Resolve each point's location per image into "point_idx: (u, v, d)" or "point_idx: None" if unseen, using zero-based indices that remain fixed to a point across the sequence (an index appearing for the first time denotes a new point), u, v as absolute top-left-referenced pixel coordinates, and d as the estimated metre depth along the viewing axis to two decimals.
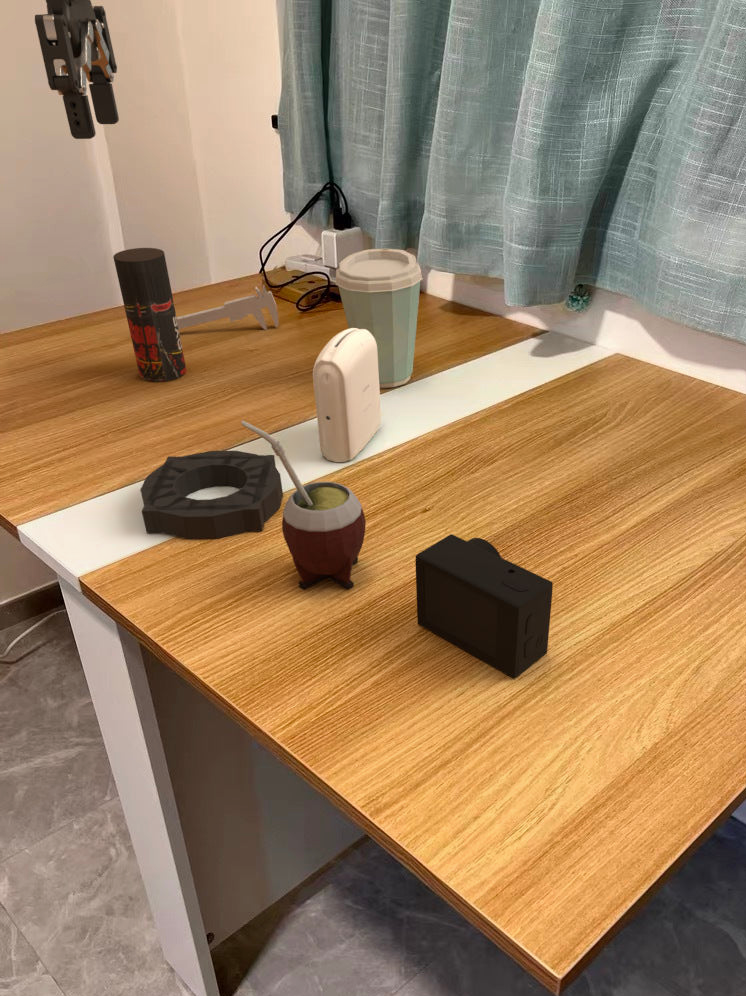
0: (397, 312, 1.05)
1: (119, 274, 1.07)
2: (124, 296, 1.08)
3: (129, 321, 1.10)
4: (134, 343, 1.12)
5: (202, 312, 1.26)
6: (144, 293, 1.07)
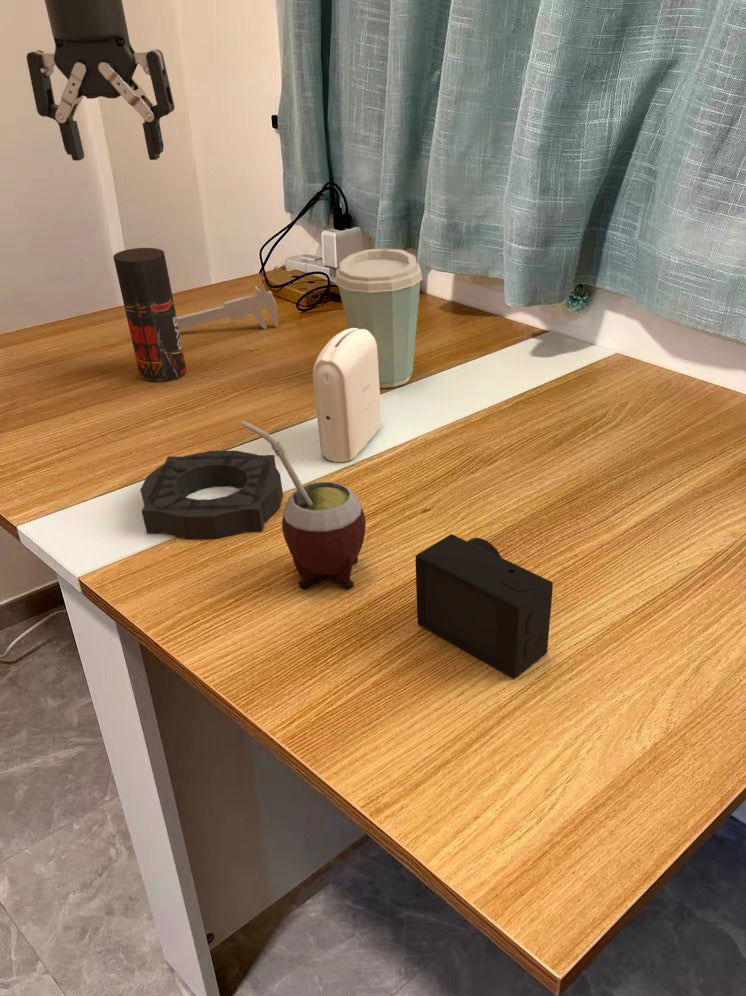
0: (397, 312, 1.05)
1: (119, 274, 1.07)
2: (124, 296, 1.08)
3: (129, 321, 1.10)
4: (134, 343, 1.12)
5: (202, 312, 1.26)
6: (144, 293, 1.07)
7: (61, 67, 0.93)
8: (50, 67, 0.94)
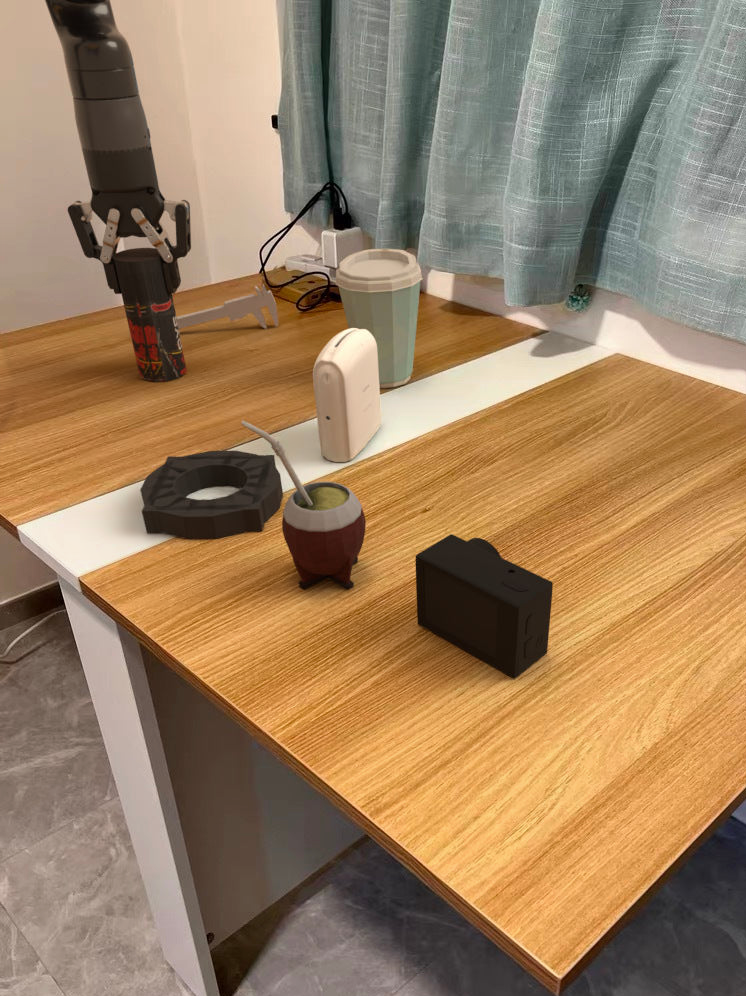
0: (397, 312, 1.05)
1: (119, 274, 1.07)
2: (124, 296, 1.08)
3: (129, 321, 1.10)
4: (134, 343, 1.12)
5: (202, 312, 1.26)
6: (144, 293, 1.07)
7: (97, 211, 1.03)
8: (89, 214, 1.04)
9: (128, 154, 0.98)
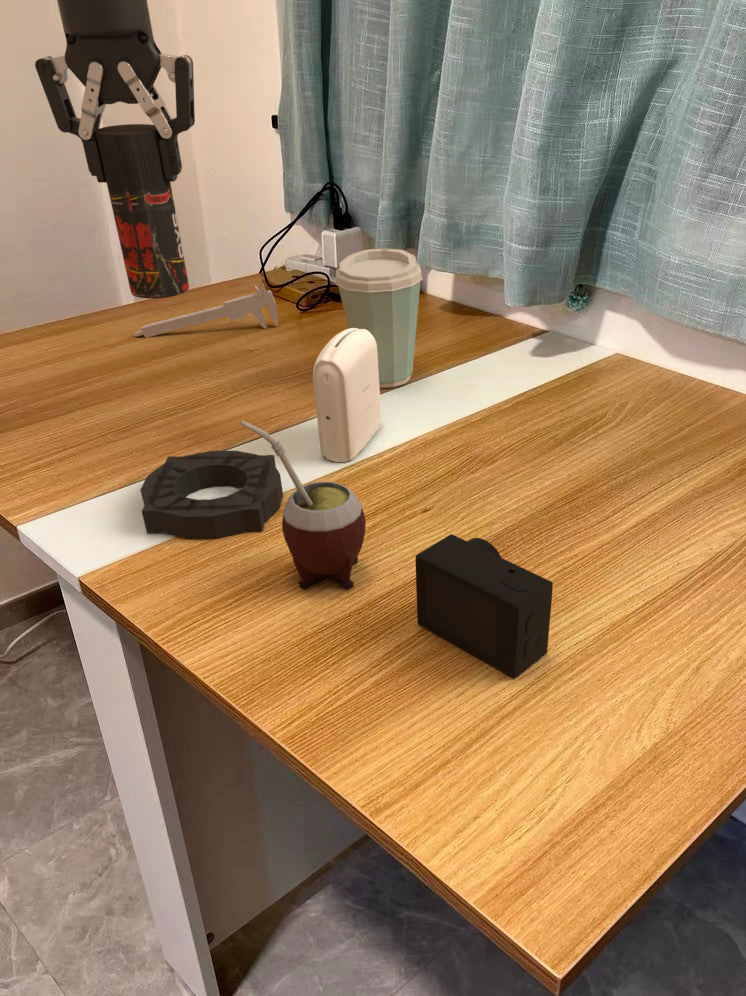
0: (397, 312, 1.05)
1: (103, 154, 0.83)
2: (110, 184, 0.85)
3: (117, 218, 0.87)
4: (123, 248, 0.88)
5: (202, 312, 1.26)
6: (136, 179, 0.84)
7: (73, 68, 0.80)
8: (63, 72, 0.81)
9: None
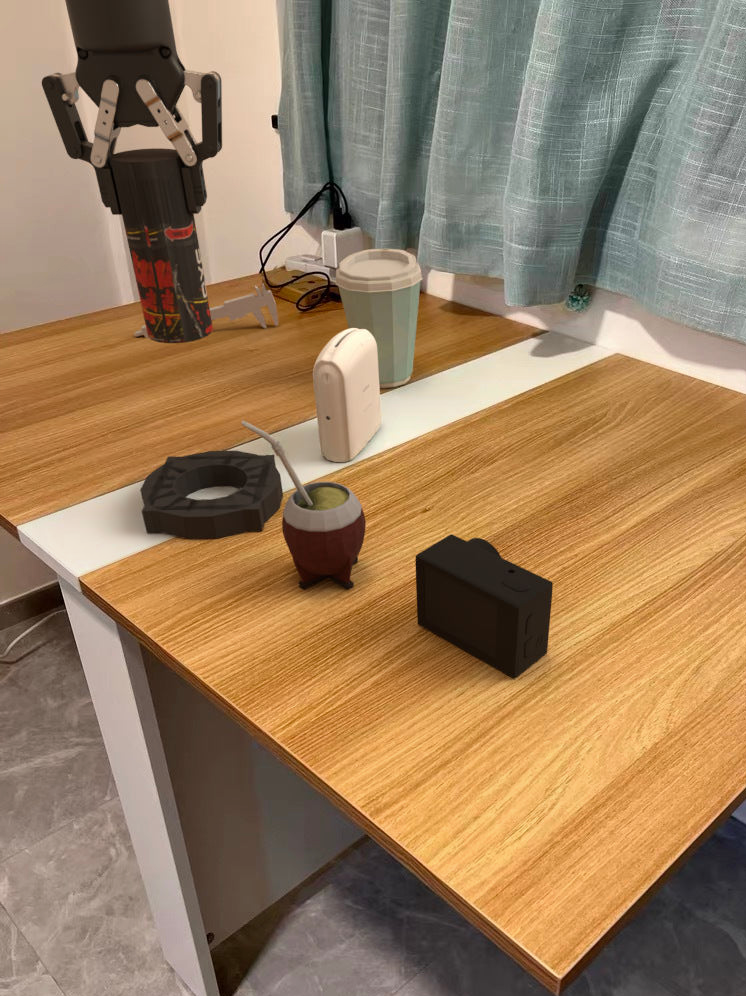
0: (397, 312, 1.05)
1: (118, 183, 0.73)
2: (126, 217, 0.75)
3: (133, 255, 0.77)
4: (140, 287, 0.78)
5: None
6: (155, 211, 0.74)
7: (85, 86, 0.70)
8: (73, 91, 0.71)
9: None
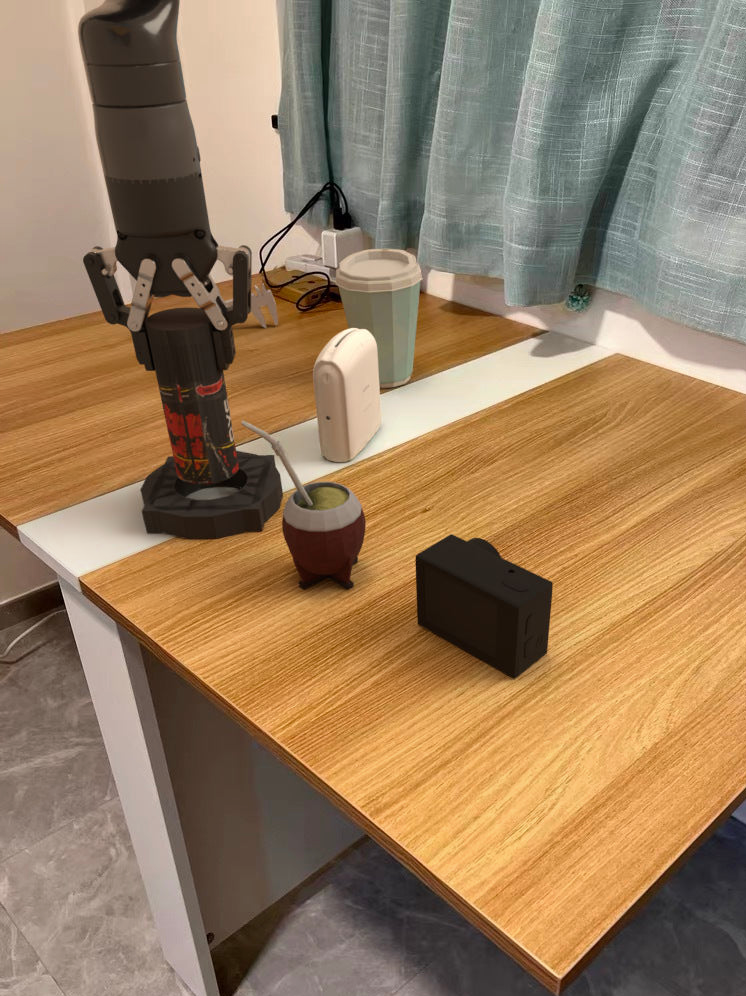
0: (397, 312, 1.05)
1: (153, 346, 0.77)
2: (159, 375, 0.79)
3: (165, 407, 0.81)
4: (171, 435, 0.83)
5: None
6: (188, 372, 0.78)
7: (124, 262, 0.74)
8: (112, 265, 0.75)
9: (171, 185, 0.69)
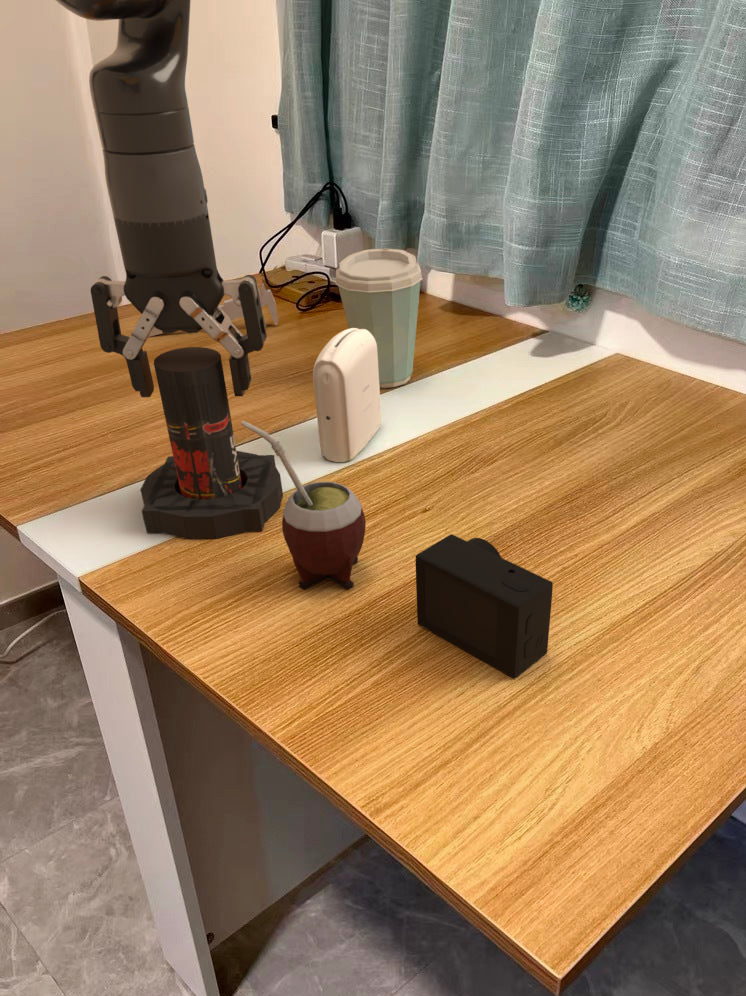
0: (397, 312, 1.05)
1: (161, 386, 0.80)
2: (167, 413, 0.81)
3: (173, 443, 0.83)
4: (179, 470, 0.85)
5: None
6: (195, 411, 0.80)
7: (133, 300, 0.76)
8: (118, 298, 0.76)
9: (179, 227, 0.70)
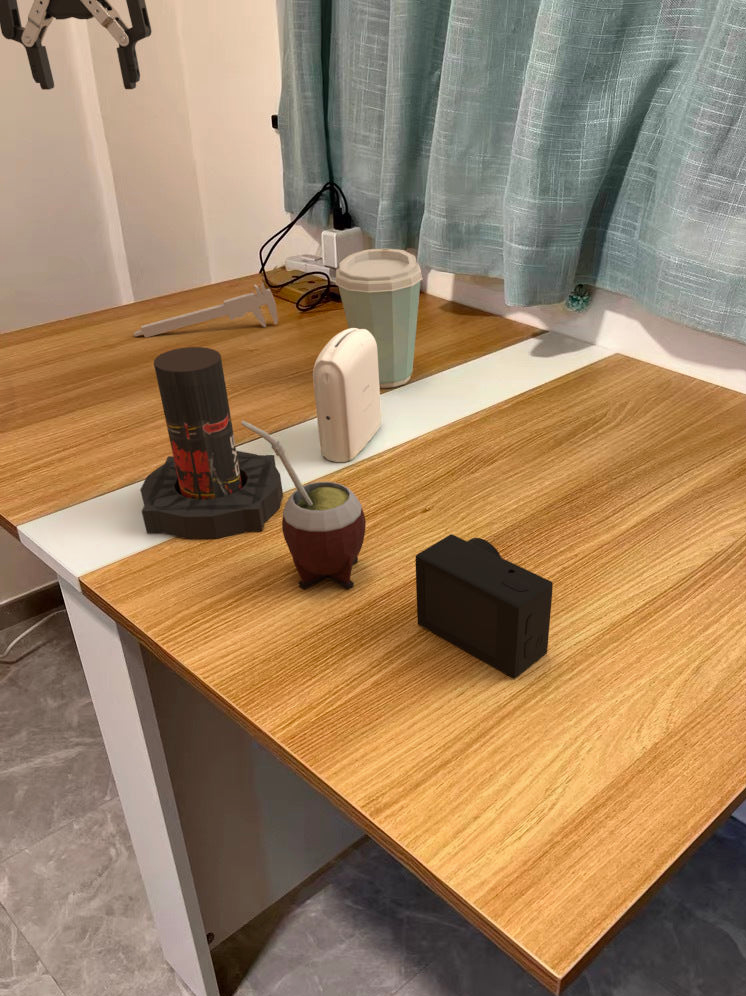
0: (397, 312, 1.05)
1: (161, 386, 0.80)
2: (167, 413, 0.81)
3: (173, 443, 0.83)
4: (179, 470, 0.85)
5: (202, 311, 1.27)
6: (195, 411, 0.80)
7: None
8: None
9: None
